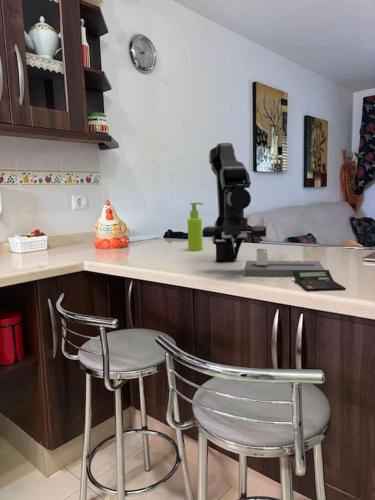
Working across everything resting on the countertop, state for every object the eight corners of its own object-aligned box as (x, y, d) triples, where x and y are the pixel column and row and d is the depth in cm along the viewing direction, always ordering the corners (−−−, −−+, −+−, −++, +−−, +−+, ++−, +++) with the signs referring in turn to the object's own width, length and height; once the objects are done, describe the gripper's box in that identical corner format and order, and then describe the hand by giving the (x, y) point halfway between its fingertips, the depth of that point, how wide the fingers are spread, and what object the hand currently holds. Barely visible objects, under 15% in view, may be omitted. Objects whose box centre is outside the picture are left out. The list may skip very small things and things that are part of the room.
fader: (256, 265, 112) (256, 251, 112) (257, 261, 118) (257, 248, 117) (267, 265, 112) (267, 251, 111) (267, 261, 117) (267, 248, 117)
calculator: (306, 292, 91) (306, 280, 91) (292, 281, 103) (292, 270, 102) (345, 291, 91) (345, 279, 91) (327, 280, 103) (327, 269, 102)
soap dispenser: (203, 251, 159) (202, 202, 156) (187, 251, 160) (185, 203, 157) (205, 249, 165) (204, 202, 162) (189, 249, 166) (188, 202, 163)
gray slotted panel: (244, 276, 109) (243, 268, 109) (246, 266, 123) (246, 260, 123) (324, 277, 105) (325, 269, 104) (318, 267, 118) (318, 260, 118)
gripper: (198, 210, 108) (199, 264, 110) (265, 208, 104) (265, 265, 106) (204, 208, 119) (206, 257, 121) (266, 207, 115) (266, 258, 117)
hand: (234, 259), depth 116 cm, fingers closed
